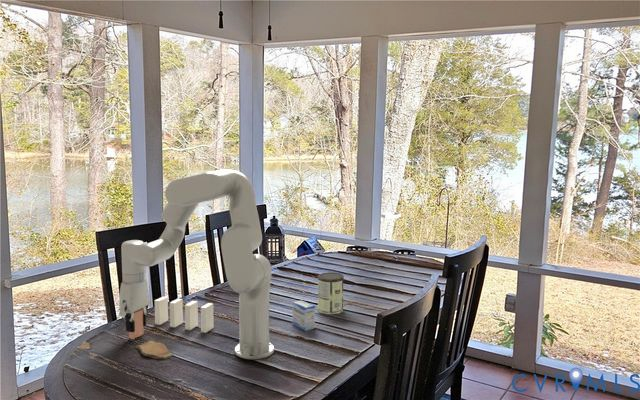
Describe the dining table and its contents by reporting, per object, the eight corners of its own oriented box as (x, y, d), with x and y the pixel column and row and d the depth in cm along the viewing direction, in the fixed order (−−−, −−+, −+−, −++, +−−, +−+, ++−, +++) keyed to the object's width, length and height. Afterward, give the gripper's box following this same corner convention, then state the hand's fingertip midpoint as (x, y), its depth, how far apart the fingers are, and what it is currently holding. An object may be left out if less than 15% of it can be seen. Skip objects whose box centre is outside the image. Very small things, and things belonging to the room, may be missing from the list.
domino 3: (213, 327, 184) (213, 303, 183) (205, 332, 180) (205, 308, 179) (208, 326, 185) (208, 302, 184) (201, 331, 180) (200, 307, 179)
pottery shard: (179, 358, 163) (150, 342, 172) (179, 350, 163) (150, 335, 171) (157, 367, 156) (128, 351, 165) (157, 360, 156) (128, 343, 164)
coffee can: (325, 304, 211) (325, 270, 210) (347, 308, 206) (348, 274, 204) (312, 311, 203) (312, 276, 201) (335, 316, 197) (335, 280, 196)
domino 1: (183, 322, 189) (182, 299, 188) (174, 327, 184) (174, 303, 183) (178, 322, 189) (177, 298, 188) (170, 326, 185) (169, 302, 184)
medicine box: (292, 324, 188) (292, 302, 187) (301, 322, 191) (301, 299, 190) (305, 331, 182) (305, 307, 181) (315, 328, 185) (315, 305, 184)
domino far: (168, 320, 191) (167, 297, 190) (159, 325, 186) (159, 301, 185) (163, 319, 192) (163, 296, 191) (155, 324, 187) (154, 300, 186)
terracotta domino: (143, 334, 178) (142, 309, 177) (133, 339, 173) (132, 313, 172) (138, 333, 178) (138, 308, 177) (129, 338, 174) (128, 313, 173)
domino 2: (198, 325, 187) (197, 301, 185) (190, 330, 182) (189, 305, 181) (193, 324, 187) (193, 300, 186) (185, 329, 183) (184, 304, 181)
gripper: (142, 269, 182) (143, 318, 185) (107, 282, 166) (109, 336, 169) (159, 271, 180) (161, 321, 182) (125, 285, 164) (127, 339, 166)
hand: (136, 328), depth 175 cm, fingers closed on terracotta domino, 4 cm apart
